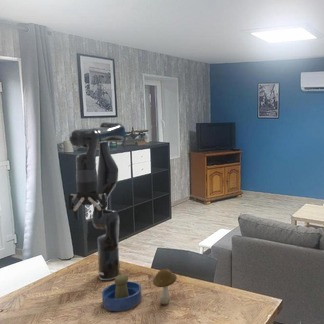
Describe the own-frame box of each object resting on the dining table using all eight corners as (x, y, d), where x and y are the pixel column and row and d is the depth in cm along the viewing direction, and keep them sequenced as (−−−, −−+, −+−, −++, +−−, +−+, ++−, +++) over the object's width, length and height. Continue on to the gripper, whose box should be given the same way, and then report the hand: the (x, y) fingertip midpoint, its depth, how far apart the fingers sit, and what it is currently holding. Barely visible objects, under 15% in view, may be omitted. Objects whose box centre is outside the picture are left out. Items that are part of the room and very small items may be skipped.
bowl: (108, 294, 148) (108, 282, 148) (144, 292, 150) (143, 280, 150) (97, 313, 134) (97, 300, 133) (137, 311, 135) (137, 298, 135)
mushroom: (180, 297, 146) (180, 264, 145) (170, 311, 135) (169, 276, 133) (160, 295, 148) (160, 262, 146) (149, 309, 137) (148, 274, 135)
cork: (124, 305, 138) (123, 280, 137) (111, 304, 139) (110, 278, 138) (132, 298, 144) (131, 273, 143) (119, 296, 145) (118, 272, 144)
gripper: (108, 177, 139) (109, 216, 141) (71, 178, 138) (73, 217, 140) (102, 181, 132) (104, 221, 134) (64, 181, 130) (66, 222, 132)
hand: (89, 219), depth 137 cm, fingers open, 8 cm apart
